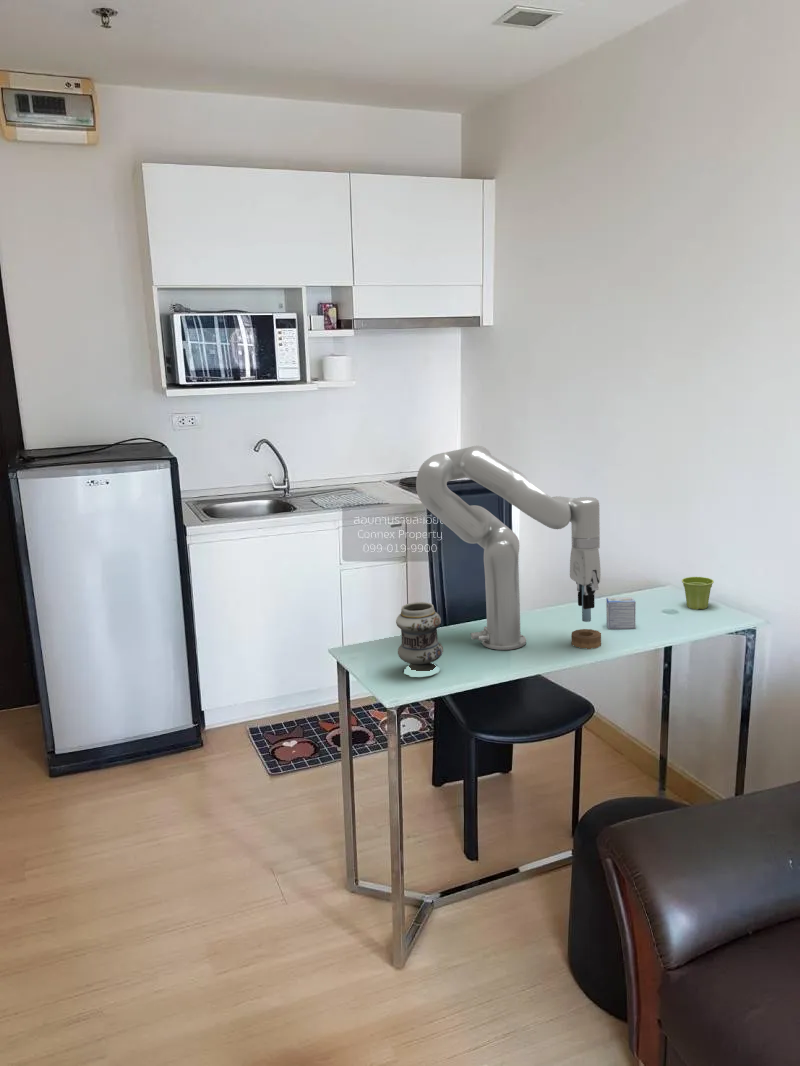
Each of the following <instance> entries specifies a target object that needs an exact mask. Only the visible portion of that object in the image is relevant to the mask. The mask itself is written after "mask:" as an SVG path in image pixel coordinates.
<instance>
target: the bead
mask: <svg viewBox="0 0 800 1066" xmlns="http://www.w3.org/2000/svg"><path fill="white" fill-rule="evenodd" d="M570 636H571V639H570V641H571V646H573V645H574V646H576V647H575V648H577V647H580V648H579V649H581V648H587V649H586V650H592V649H591V648H593V649H597V648H599V647H601V646H602V632H600V631H599V630H595V629H591V628H590V629H587V628H582V629H576V630H574V631H572V632H571V635H570ZM574 646H573V647H574Z"/></svg>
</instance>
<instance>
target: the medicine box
mask: <svg viewBox="0 0 800 1066" xmlns="http://www.w3.org/2000/svg"><path fill="white" fill-rule="evenodd" d="M605 602H606V626H607V629H608V630H625V629H636V613H637V612H636V611H637V610H636V609H637V608H636V602H637V601H636V600H635V598H634V597H633V596H620V597H619V596H618V597H617V596H615V597H606V601H605Z"/></svg>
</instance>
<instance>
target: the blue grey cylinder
mask: <svg viewBox="0 0 800 1066" xmlns="http://www.w3.org/2000/svg"><path fill="white" fill-rule="evenodd" d="M590 583H591V582H590ZM589 587H591V586H589ZM589 587H588V588H589ZM583 595H585V594H584V586H583V585H582V606H581V620H582V622H585V623H589V622H591V621H592V615H591V614H592V608H590V609H584V608H583Z"/></svg>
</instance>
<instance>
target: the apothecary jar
mask: <svg viewBox="0 0 800 1066" xmlns="http://www.w3.org/2000/svg"><path fill="white" fill-rule="evenodd" d="M400 610H401V611H400V614H398V615H397V617H396V619H395V625H396V626H397V627H398V628H399V629H400V631H401V644H400V645H398V646H399V647H398V648H397V655H398V657H399V659H400V660H401V661H403V662H404V663H407V664H409V667H410V668H411V670H416V671H430V670H433V669H434V668H435V667H436V666H435V665H434V664H435V663H433V662H435V661H438V659H439V658H441V656H443V653H444V647H443V645H442V643H441V642H440V641H439V637H438V631H437V629H438V627H439V626H440V625H441V623H442V622H441V621H442V616H441V615H440V613H438V612H437V611H436V610H435V607H434V604H432V603H430V602H426V601H425V602H424V601H419V602H418V601H417V602H410V603H406V604H404V605H402V606H401V609H400ZM432 663H433V664H432Z"/></svg>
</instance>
